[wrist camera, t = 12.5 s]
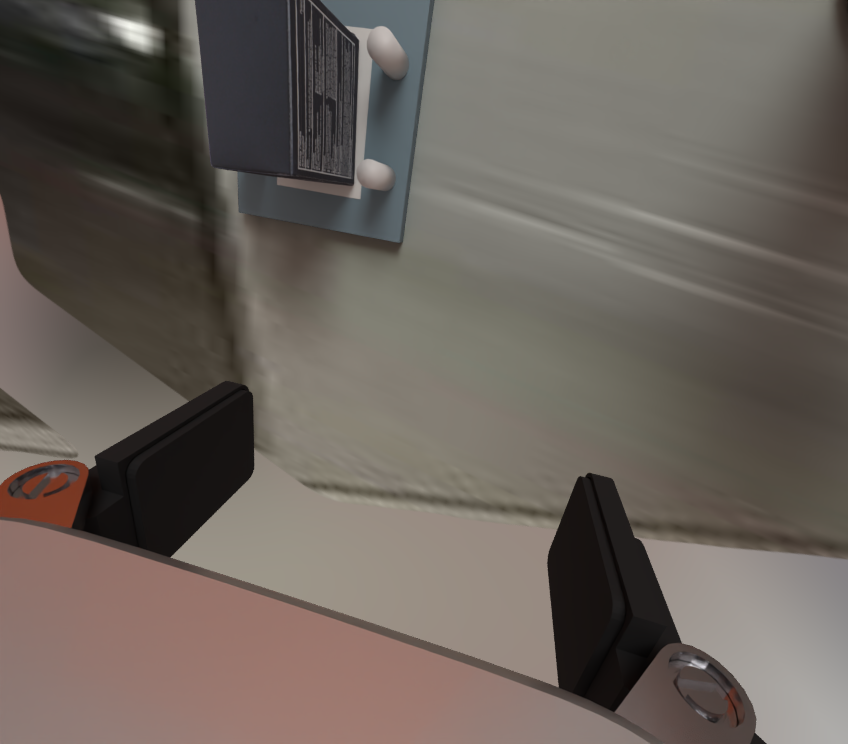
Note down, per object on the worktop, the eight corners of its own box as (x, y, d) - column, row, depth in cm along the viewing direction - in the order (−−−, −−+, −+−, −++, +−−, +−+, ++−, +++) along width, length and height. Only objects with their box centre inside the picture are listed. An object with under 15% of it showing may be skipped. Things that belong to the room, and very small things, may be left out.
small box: (283, 32, 31) (182, -47, 22) (361, 36, 30) (291, -45, 21) (287, 179, 35) (204, 167, 26) (356, 187, 34) (295, 177, 25)
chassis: (435, -8, 29) (420, -51, 25) (402, 242, 37) (385, 246, 32) (241, -28, 31) (193, -71, 27) (246, 212, 39) (209, 212, 34)
